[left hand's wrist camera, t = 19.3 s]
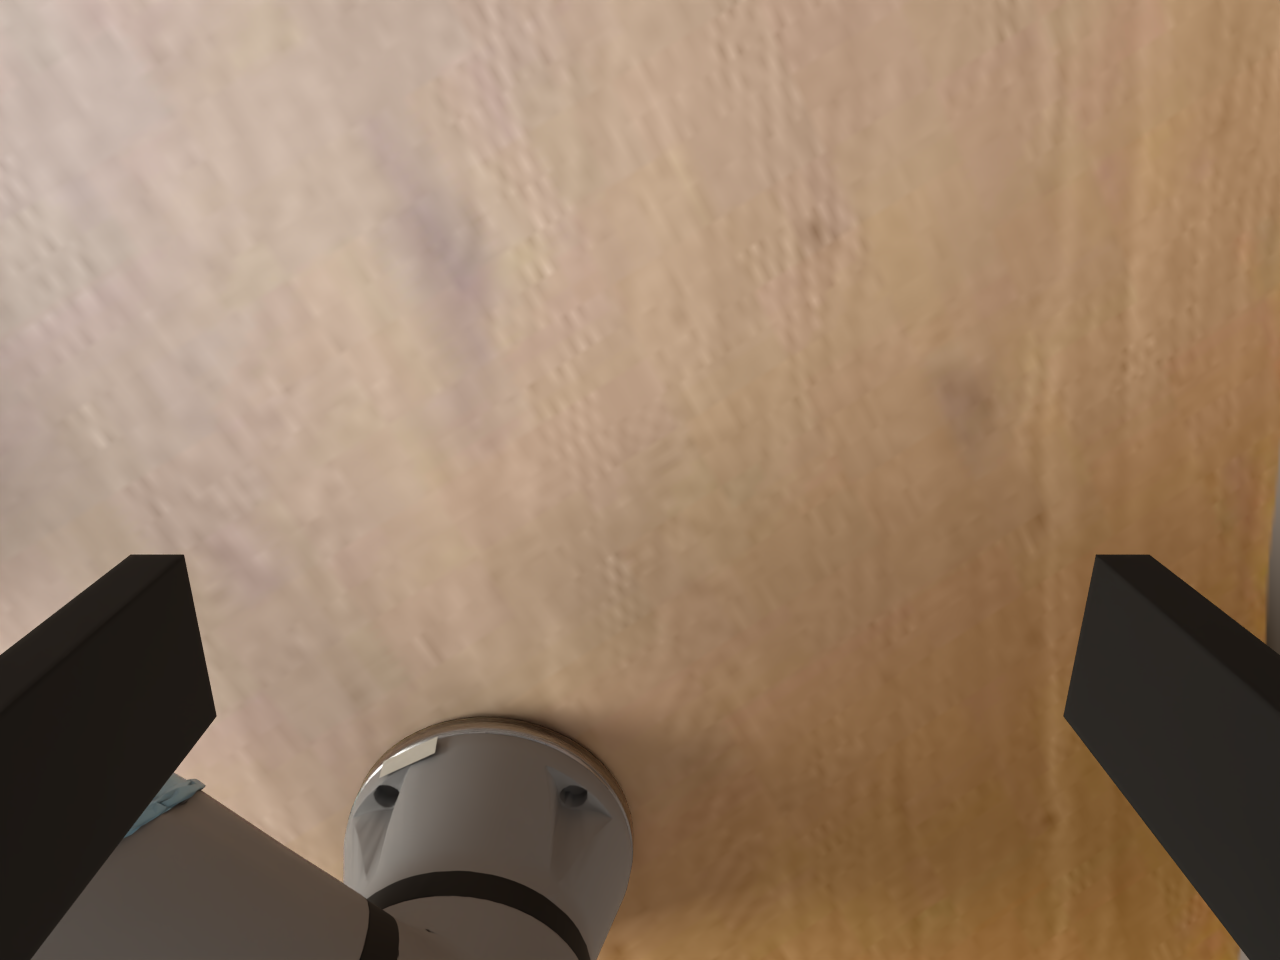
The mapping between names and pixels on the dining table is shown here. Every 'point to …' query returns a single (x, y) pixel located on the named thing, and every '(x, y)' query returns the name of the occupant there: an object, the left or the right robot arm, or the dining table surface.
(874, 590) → the dining table surface
